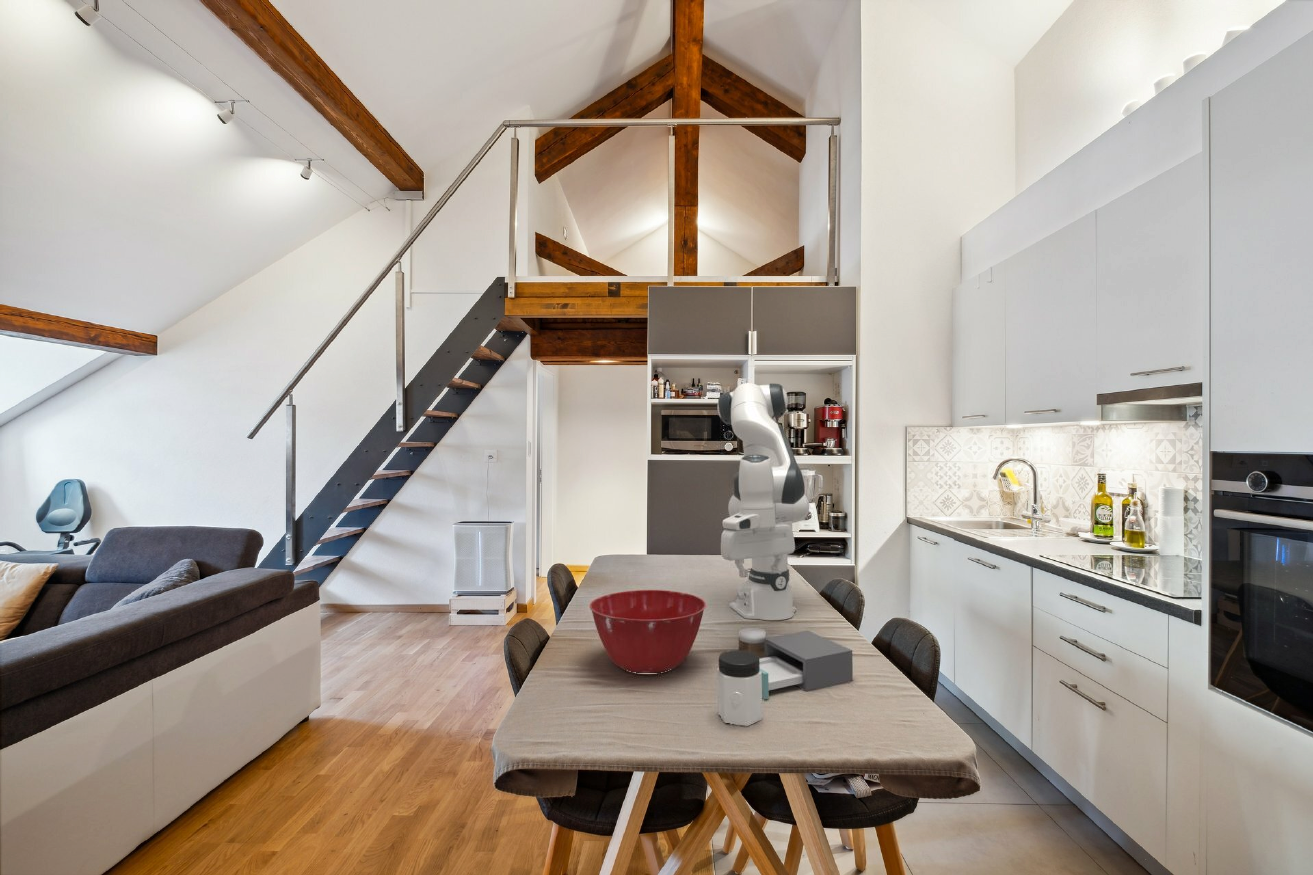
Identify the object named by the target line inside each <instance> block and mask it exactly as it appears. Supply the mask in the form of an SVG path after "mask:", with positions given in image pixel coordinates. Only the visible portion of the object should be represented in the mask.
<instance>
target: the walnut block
mask: <svg viewBox="0 0 1313 875" xmlns="http://www.w3.org/2000/svg"><path fill="white" fill-rule="evenodd" d="M738 650H740V651H748V652H752V653H754V654H756V655H757V656H758V657H759V659H761V658H765V651H764V642H762V643H746V642H742V641H741V640H740V639H739V638H738Z"/></svg>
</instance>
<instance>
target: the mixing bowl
mask: <svg viewBox="0 0 1313 875" xmlns="http://www.w3.org/2000/svg"><path fill="white" fill-rule="evenodd" d="M706 604H707V603H706V602H705V600H704V599H702V598H701V597H699V596H697V595H693V594H690V593H687V592H682V591H681V592H680V591H676V590H674V591H672V590H664V589H663V590H662V589H640V590H639V589H638V590H626V591H625V590H624V591H619V592H612V593H609V594H606V595H603V596H599V597H597V598H596V599H594V600H592V601H591V602H590V603H589V609H590V610H591V613H592V617H593V620H594V624H595V627H596V630H597V633H598V637H599V639H600V641H601V643H602V645H603V647H604V649H605V651H606V653H607V655H608V656H609V658H610V660H611V661H612V662H613V663H614V664H615V665H616V666H618V667H619V668H621V669H622V668H623V669H625V670H628V671H631V672H636V673H661V672H665V671H668V670H670V669H672V670H674V669H675V668H676V667H678V666H679V665H680V664H682V663H683V662H684V661H685V660H686V658H687V657H688V655H689V654H690V651H691V650H692V648H693V646H694V642H695V641H696V638H697V635H698V633H699V630H700V626H701V624H702V623H701V622H702V619H703V616H704V615H703V614H704V610H705V609H706V606H707V605H706ZM673 668H674V669H673ZM623 669H622V670H623ZM625 670H624V671H625ZM668 672H669V671H668ZM665 673H666V672H665Z"/></svg>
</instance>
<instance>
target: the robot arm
mask: <svg viewBox="0 0 1313 875" xmlns="http://www.w3.org/2000/svg"><path fill="white" fill-rule="evenodd" d="M788 404H789V397H788V394H787V392H786V390H785V389H784V387H783V385H781V384H780V383H769V384H759V385H758V384H756V383H753V382H746V383H745V382H744V383H742V384H740V385H739V384H738V386H737V387H736V388H735V389H734V390H733V391H731V392H730V391H727V392H725V393H722V394H721V395H720V396H719V398H718V401H717V408H716V409H717V413H718V416H719V418H720V419H721V421H722V422H723V423H724V424H725V425H731V428H732V431H733V434H734V435H735V436H736V437H737V438H738V439H739V440H741V441H742V448H743V456H742V457H741V458H740V461H739V467H738V468H739V470H738V471H737V472H736V473H735V474H734V475H733V476H732V478H733V487H734V488H733V490H734V493H733V494H732V496H730V499H729V501H728V505H727V506H728V508H727V510H728V516H729V517H726V518H725V519H723V520H722V523H721V524H722V527H723V528H724V530H723V531H722V532H721V536H720V555H721V557H722V559H724V560H726V561H731V562H732V561H734V564H735V566H736V568H737V569H738V575H739V577H740V578H747V579H748V580H746V581H745V582H744V583H743V584H742V585H740V586H739V587H738V589H737V591H736V600H733V601H732V602H729V607H730V608H731V609H732V610H733V611H735V612H736V613H738V614H739V615H740V616H741V617H742V618H743V619H751V620H752V619H753V620H754V619H755V620H761V621H762V620H764V621H782V620H787V619H788V620H789V619H790V618H792V617H794V616H795V614H794V613H795V612H796V610H797V607H795V606H794V599H793V591H792V590H793V589H792V586H791V584H790V583H789V581H790V575H791V574H790V569H789V568H788V564H789V563H788V561H789V560H788V558H789V556H788V554H789V555H791V554H793V553H794V552H795V550H796V543H795V536H794V532H793V524H794V523H795V524H796V523H798V522H802V521H804V520H805V519H806V518H807V516H808V514H809V511H810V502H809V499H808V497H807V495H806V494H805V491H806V482H805V477H804V475H803V472H802V471H801V468H800V467H799V464H798V463H797V460H796V458H795V454H794V453H793V449H792V447H791V444H790V442H789V438H788V436H787V434H786V432H785V429H784V428H783V426H782V424H779V419H780V418H782V417H783V416H784V415H785V414H786V412H787V408H788ZM773 419H775V420H773ZM748 559H751V568H747V569H746V568H745V567H744V565H743V564H744V563H745V560H748Z"/></svg>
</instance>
